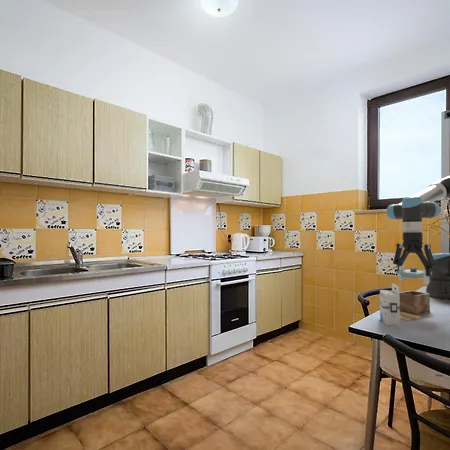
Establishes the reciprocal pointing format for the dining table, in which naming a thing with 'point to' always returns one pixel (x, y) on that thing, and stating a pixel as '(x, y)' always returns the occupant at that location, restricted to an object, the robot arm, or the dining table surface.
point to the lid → (411, 273)
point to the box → (414, 302)
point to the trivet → (408, 316)
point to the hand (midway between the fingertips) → (413, 282)
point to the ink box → (390, 306)
